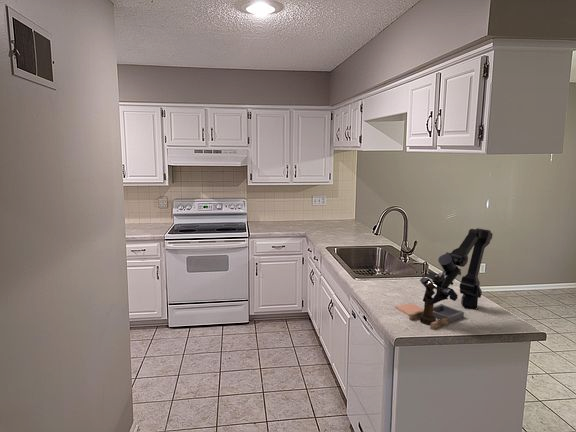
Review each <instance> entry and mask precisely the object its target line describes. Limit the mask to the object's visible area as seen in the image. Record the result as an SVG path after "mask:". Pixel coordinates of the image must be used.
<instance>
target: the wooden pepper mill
mask: <svg viewBox="0 0 576 432" xmlns="http://www.w3.org/2000/svg"><path fill="white" fill-rule="evenodd" d="M432 283H433V282H432ZM432 283H428V284H427V288H428V293H427V295H428V297H425V302H424V306H423V307H424V308H423V309H424V314H422V315H421V316H420V318H419V321H420V323H422V324H424V325H431V323H432V322H435V321H437V319H436V317H435V316H434V315H433V307H434V306H435V305H434V304H433V305H430V304H429V303H430V301H431V300H432V299H433V296H434V295H433V293H432V290H433V289H434V285H433V284H434V283H433V284H432ZM434 290H435V289H434ZM434 290H433V291H434Z"/></svg>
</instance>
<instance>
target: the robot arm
mask: <svg viewBox="0 0 576 432" xmlns="http://www.w3.org/2000/svg"><path fill="white" fill-rule="evenodd" d="M493 235H494V234H493V233H492V232H491V230H489V229H485V228H480V227H479V228H470V229H469V230H468V233H467V235H466V236H465V237H464V239H463V240H462V242H461V244H460V245H459V247H457V248H455V249H453V250H452V251H451V252H448V251H446V252H445V253H444V254H442V255H440V256H439V257H438V258H437V261H438V264H439V265H440V267H441V269H442V270H443V271H442V272H438V273H435V272H433V271H430V270H429V271H428V274H427V276H426V277H425V276H423V277H421V278H420V279H419V282H420V283H421V284H422V286H423V287H425V292H424V295H423V298H422V301H423V302H424V303H425V297H428V295H427V293H428V288H427V284H428V283H432V284H433V285H434V289H433V290H432V293H433V295H432V298H433V299H432V300H431V301H430V303H429V304H430V305H433V304H437V303H440V302H442V301H444V300H448V299H450V300H452V301H453V302H456V301H457V299H458V296H459V295H458V294H457V292H456V291H455V290H454V289H453V288H451V287H450V286H453V285H454V281H455V279H456V278H457V277H458V276H461V275H462V269H461V268H459V267H462V268H464V267H465V266H467V264H468V261H469V253H470V252H471V250H472V254H471V257H470V261H469V265H468V269H467V273H466V274H465V275H464V276H462V277H461V281H460V282H459V283H460V284H459V294H462V296H461V300H460V304H461V306H462V307H463V308H464V309H466V308H477V307H478V301H479V300H478V299H479V298H481V297H482V294H483V291H482V289H481V286H480V285H481V282H480V280H479V272H480V269H481V265H482V260H483V256H484V252H485V248H486V247H488V245H490V242H491V241H492V239H493ZM434 290H436V291H434Z"/></svg>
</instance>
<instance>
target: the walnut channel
mask: <svg viewBox="0 0 576 432" xmlns="http://www.w3.org/2000/svg"><path fill="white" fill-rule="evenodd" d="M422 314H424V310H421V311H418V312H415V313H412V314H410V316H409V315H408V316H409V318H408V319H409V321H414V320H417V319H420V316H421V315H422ZM447 323H448V318H443V319H440V320H439V319H437V320H436V321H435V322H432V323H431V325H430V324H429V325H430V327H429V329H431V330H435V329H437V327H438V328H440V327H443V326H446V325H448V324H449V323H448V324H447ZM445 324H446V325H445ZM442 325H443V326H442Z"/></svg>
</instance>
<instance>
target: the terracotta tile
mask: <svg viewBox="0 0 576 432" xmlns="http://www.w3.org/2000/svg"><path fill="white" fill-rule="evenodd" d="M394 309H396V310H399V311H400V312H402V313H404V314H405V315H407V316H410V314H412V313H415V312H418V311H421V310H424V308H423V307H420V306H419V305H417V304H415V303H412V302H411V303H406V304H399V305H395V306H394Z"/></svg>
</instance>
